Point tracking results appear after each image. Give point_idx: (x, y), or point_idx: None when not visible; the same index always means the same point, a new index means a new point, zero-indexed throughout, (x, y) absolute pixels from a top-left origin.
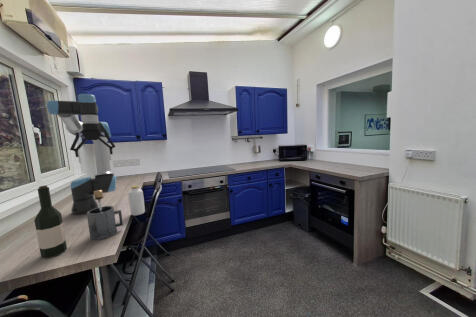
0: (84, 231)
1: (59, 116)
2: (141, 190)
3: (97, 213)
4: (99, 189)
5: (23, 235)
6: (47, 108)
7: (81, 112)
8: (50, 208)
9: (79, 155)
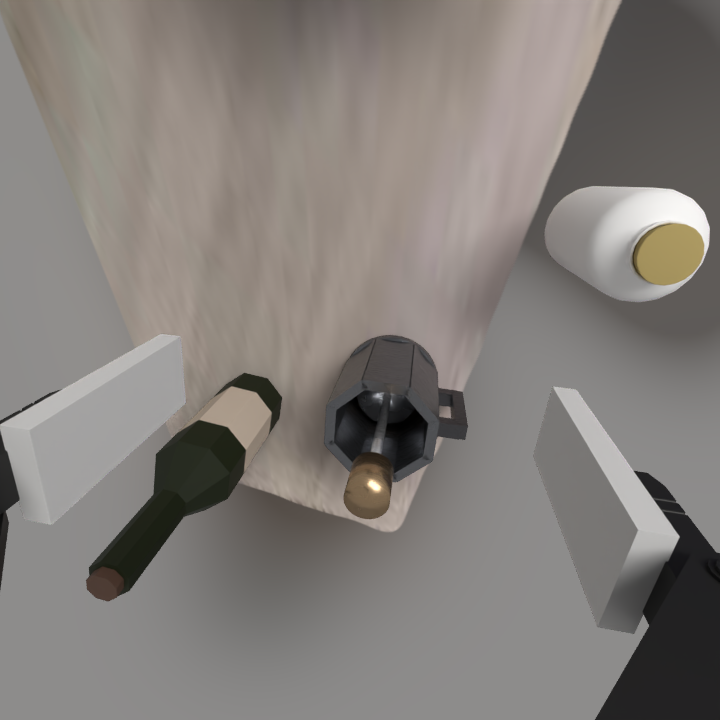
0: (325, 278)
1: None
2: (691, 275)
3: None
4: None
5: (86, 90)
6: None
7: None
8: (188, 513)
9: (106, 467)
